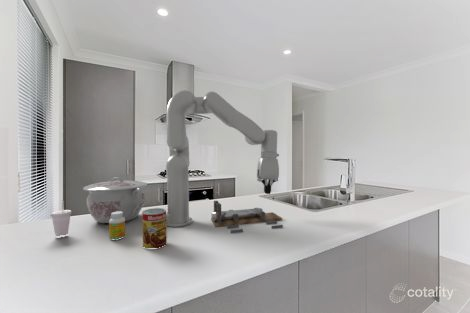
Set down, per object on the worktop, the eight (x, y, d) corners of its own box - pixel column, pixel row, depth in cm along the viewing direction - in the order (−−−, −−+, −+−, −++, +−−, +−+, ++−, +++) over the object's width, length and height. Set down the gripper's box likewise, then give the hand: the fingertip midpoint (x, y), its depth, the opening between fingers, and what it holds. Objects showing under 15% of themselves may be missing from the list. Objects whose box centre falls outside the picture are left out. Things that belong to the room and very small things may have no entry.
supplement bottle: (109, 242, 82) (108, 215, 81) (109, 237, 86) (109, 211, 86) (125, 239, 84) (125, 213, 84) (125, 234, 89) (124, 210, 89)
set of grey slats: (231, 233, 90) (231, 230, 90) (227, 228, 95) (227, 226, 95) (282, 227, 96) (282, 225, 96) (276, 223, 102) (276, 221, 102)
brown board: (215, 227, 97) (215, 205, 97) (211, 220, 107) (211, 200, 106) (282, 220, 106) (282, 200, 106) (272, 214, 116) (272, 196, 116)
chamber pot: (88, 216, 115) (87, 175, 115) (146, 209, 127) (145, 173, 126) (76, 234, 90) (75, 182, 89) (150, 224, 101) (149, 178, 101)
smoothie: (75, 234, 89) (75, 199, 89) (58, 240, 83) (57, 203, 83) (64, 232, 91) (63, 198, 91) (47, 238, 85) (46, 201, 85)
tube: (213, 221, 100) (212, 212, 100) (211, 220, 103) (211, 211, 104) (263, 216, 106) (262, 208, 107) (260, 216, 110) (259, 207, 111)
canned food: (152, 251, 73) (152, 215, 73) (137, 246, 78) (137, 212, 77) (171, 243, 80) (171, 210, 80) (156, 239, 84) (156, 207, 84)
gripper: (278, 156, 115) (277, 191, 115) (251, 155, 111) (250, 192, 111) (286, 156, 108) (285, 194, 108) (257, 155, 103) (255, 195, 104)
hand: (267, 193), depth 109 cm, fingers closed
